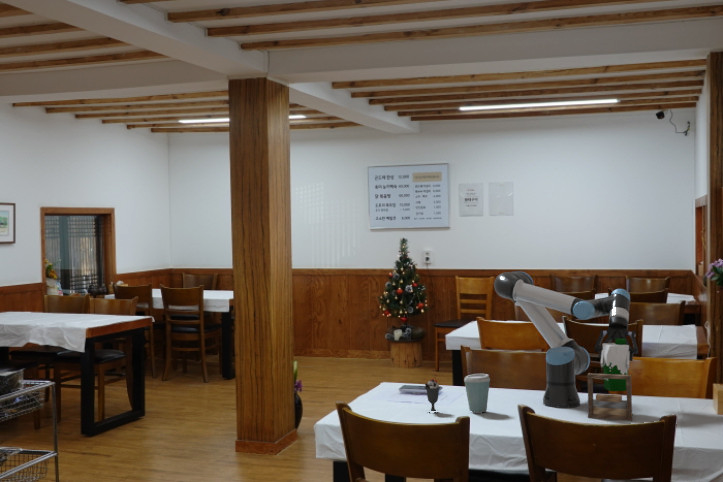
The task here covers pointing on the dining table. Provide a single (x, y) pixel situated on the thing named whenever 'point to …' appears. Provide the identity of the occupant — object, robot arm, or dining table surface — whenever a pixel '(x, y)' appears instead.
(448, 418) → the dining table surface
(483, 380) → the disposable coffee cup
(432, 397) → the sundae
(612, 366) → the soya milk
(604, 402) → the offcut rack
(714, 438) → the dining table surface
